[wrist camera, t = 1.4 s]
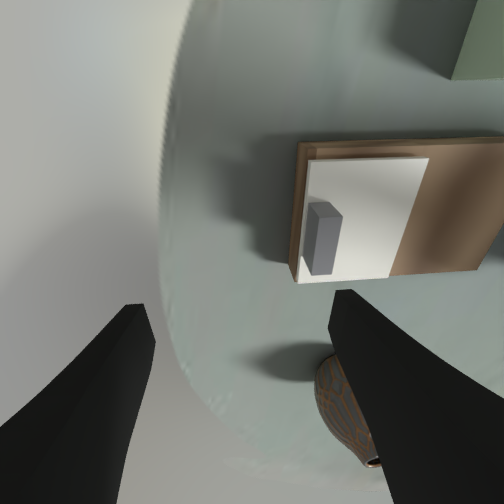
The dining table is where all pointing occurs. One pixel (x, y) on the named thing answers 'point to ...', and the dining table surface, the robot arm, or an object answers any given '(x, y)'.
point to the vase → (343, 412)
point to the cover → (355, 216)
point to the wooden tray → (427, 199)
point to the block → (483, 44)
